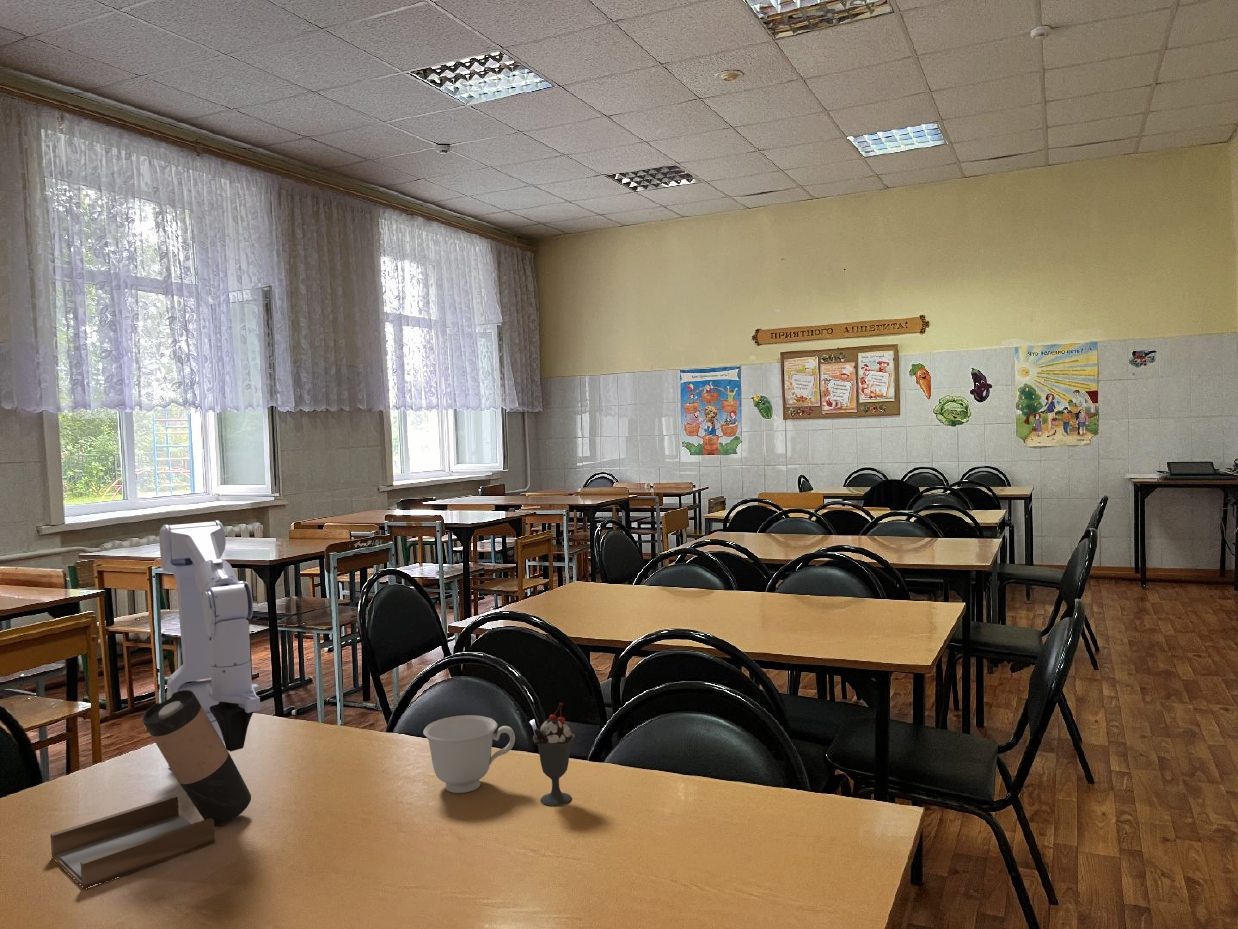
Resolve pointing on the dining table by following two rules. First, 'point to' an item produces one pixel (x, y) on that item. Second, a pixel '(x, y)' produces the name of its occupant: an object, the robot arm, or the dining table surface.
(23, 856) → the dining table surface
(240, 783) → the travel mug
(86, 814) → the dining table surface
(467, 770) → the teacup
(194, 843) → the u rest
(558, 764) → the sundae
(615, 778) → the dining table surface
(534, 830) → the dining table surface
